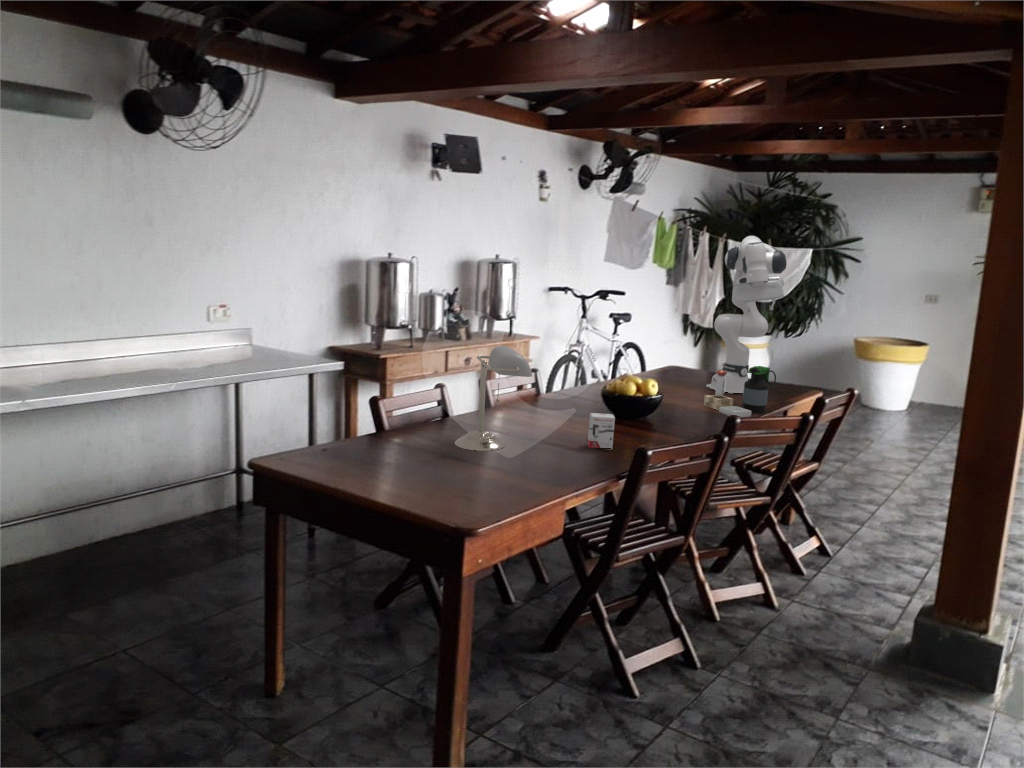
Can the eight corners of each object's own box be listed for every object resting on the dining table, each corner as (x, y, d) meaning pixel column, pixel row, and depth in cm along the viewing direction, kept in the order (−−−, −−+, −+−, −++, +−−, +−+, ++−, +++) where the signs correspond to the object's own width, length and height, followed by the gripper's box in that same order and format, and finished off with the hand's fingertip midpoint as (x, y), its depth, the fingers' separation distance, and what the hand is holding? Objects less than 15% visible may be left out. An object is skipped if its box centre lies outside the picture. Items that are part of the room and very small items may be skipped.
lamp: (531, 454, 271) (537, 355, 264) (460, 454, 266) (464, 354, 259) (514, 434, 296) (520, 343, 290) (449, 434, 291) (453, 342, 284)
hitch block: (703, 406, 365) (704, 395, 364) (719, 405, 369) (720, 394, 368) (716, 410, 357) (717, 399, 356) (732, 409, 361) (733, 398, 360)
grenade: (772, 410, 364) (778, 367, 360) (759, 414, 354) (764, 370, 350) (751, 406, 371) (755, 363, 367) (737, 410, 361) (742, 366, 357)
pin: (710, 407, 364) (714, 370, 361) (718, 406, 366) (722, 370, 363) (717, 409, 360) (721, 372, 357) (725, 408, 362) (729, 371, 359)
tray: (718, 412, 353) (719, 407, 353) (735, 411, 357) (736, 406, 357) (733, 417, 345) (734, 412, 344) (750, 416, 349) (751, 410, 348)
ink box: (588, 448, 282) (590, 416, 280) (587, 444, 287) (589, 412, 285) (612, 449, 282) (615, 417, 280) (611, 446, 287) (613, 414, 285)
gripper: (783, 277, 343) (785, 309, 342) (733, 282, 350) (736, 314, 349) (782, 275, 337) (785, 307, 336) (732, 280, 344) (735, 312, 343)
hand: (759, 311), depth 343 cm, fingers open, 8 cm apart
